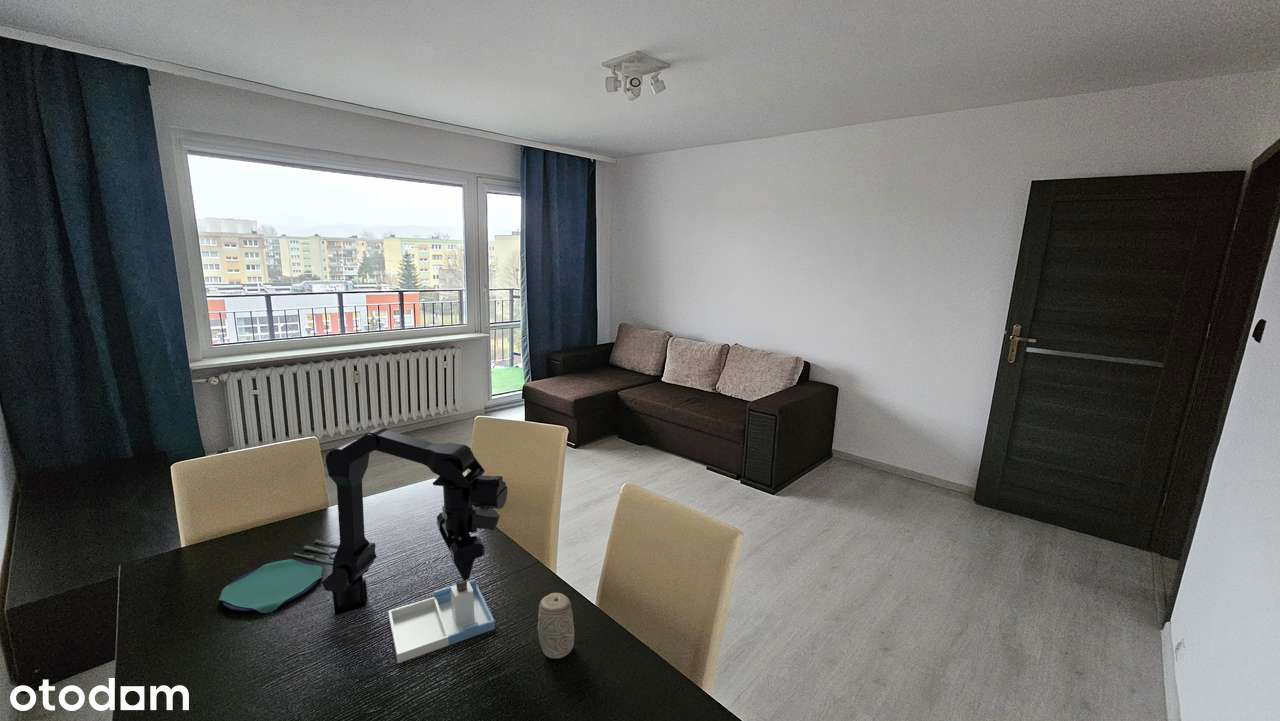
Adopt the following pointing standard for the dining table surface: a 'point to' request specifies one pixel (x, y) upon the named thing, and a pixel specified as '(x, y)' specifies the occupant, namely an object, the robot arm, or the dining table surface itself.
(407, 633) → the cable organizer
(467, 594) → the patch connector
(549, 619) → the carving
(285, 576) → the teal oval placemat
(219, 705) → the dining table surface
